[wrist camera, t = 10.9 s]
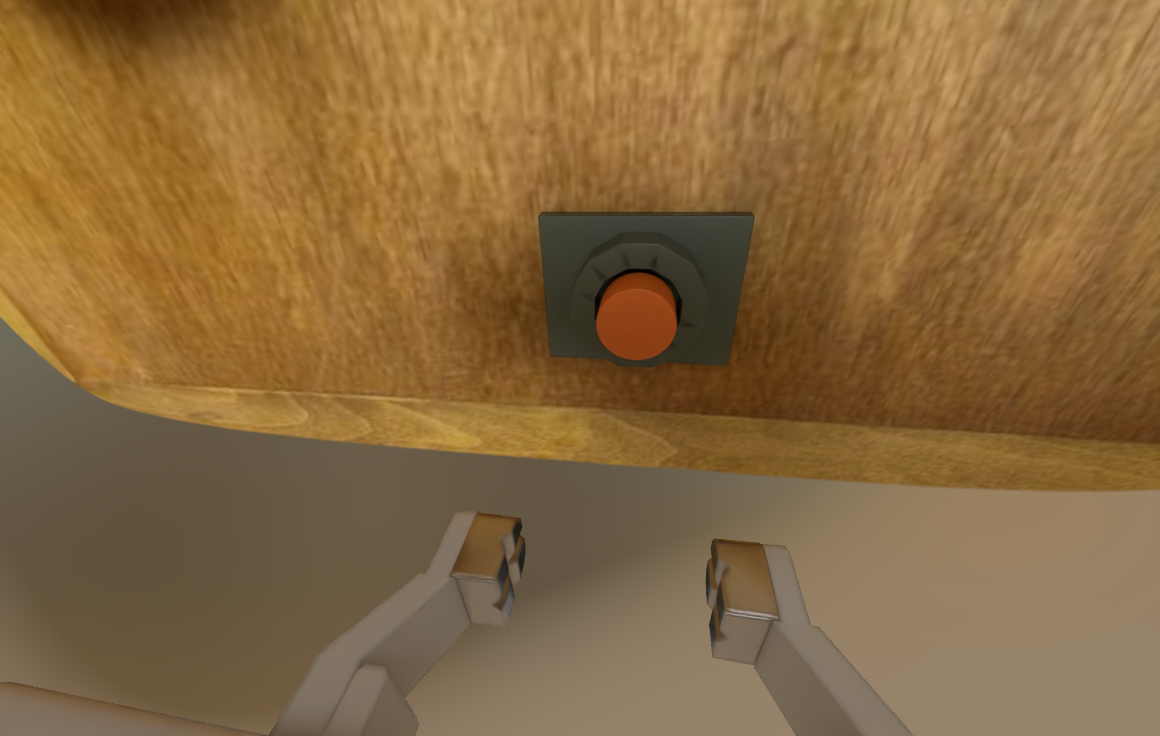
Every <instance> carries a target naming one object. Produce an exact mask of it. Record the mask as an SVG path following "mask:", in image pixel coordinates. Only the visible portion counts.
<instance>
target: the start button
mask: <svg viewBox="0 0 1160 736" xmlns="http://www.w3.org/2000/svg"><path fill="white" fill-rule="evenodd" d="M596 328H597V333H598V336H599V338H600V340H601V342H602V343H603V344H604V346H605V347H606V348H607V349H608V350H610V351H611V352H612V353H614V354H615V355H617V356H619V357H622V358H625V359H630V360H644V359H648V358H651V357H654V356H656V355H658V354H660V353H661V352H663V351H664V350H665V349H666V348H667V347H668V346H669V345H670V343H671V342H672V340H673V338H674V336H675V333H676V329H677V319H676V305H675V299H674V295H673V293H672V291H671V289H670V288H669V287H668V285H667V284H666V283H665V282H664V281H663V280H661V279H660V278H658V277H656V276H654V275H651V274H648V273H641V272H635V273H629V274H625V275H623V276H620V277H619V278H617V279H615V280H614V281H613V282H612V283H611V284H610V285H609V286H608V287H607V289H606V290H605V292H604V294H603V297H602V300H601V304H600V307H599V311H598V315H597V319H596Z"/></svg>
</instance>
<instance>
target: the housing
mask: <svg viewBox="0 0 1160 736" xmlns="http://www.w3.org/2000/svg"><path fill="white" fill-rule="evenodd" d="M538 218H539V230H540V242H541V253H542V265H543V277H544V289H545V300H546V312H547V324H548V336H549V347H550V356H554V357H572V358H591V359H607V360H608V361H610V362H612V363H614V364H616V365H619V366H629V367H647V368H651V367H654V366H657V365H659V364H662V363H664V362H667V363H686V364H705V365H724V366H727V364H728V359H729V354H730V348H731V343H732V337H733V332H734V326H735V321H736V316H737V310H738V305H739V299H740V294H741V288H742V283H743V277H744V272H745V266H746V261H747V256H748V250H749V245H750V239H751V234H752V228H753V223H754V215H753V214H752V213H744V212H542V213H541V214H540V215H539V216H538ZM635 272H641V273H648V274H651V275H654V276H656V277H658V278H660V279H661V280H663V281H664V282H665V283H666V284H667V285H668V287H669V288H670V289H671V291H672V293H673V295H674V299H675V305H676V319H677V329H676V333H675V336H674V338H673V340H672V342H671V343H670V345H669V346H668V347H667V348H666V349H665V350H664V351H663V352H661V353H660V354H658V355H656V356H654V357H651V358H648V359H644V360H630V359H625V358H622V357H619V356H617V355H615V354H614V353H612V352H611V351H610V350H608V349H607V348H606V347H605V346H604V344H603V343H602V342H601V340H600V338H599V336H598V333H597V328H596V319H597V315H598V311H599V307H600V304H601V300H602V297H603V294H604V292H605V290H606V289H607V287H608V286H609V285H610V284H611V283H612V282H613V281H614V280H615V279H617V278H619V277H620V276H623V275H625V274H629V273H635Z"/></svg>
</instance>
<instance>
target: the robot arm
mask: <svg viewBox="0 0 1160 736" xmlns="http://www.w3.org/2000/svg"><path fill="white" fill-rule="evenodd" d="M521 529H522V523H521V519H520V518H518V517H510V516H502V515H494V514H487V513H480V512H471V511H462V510H459V511H458V512H457V513H456V514H455V515H454V516H453V518H452V520H451V523H450V524H449V527H448V528H447V530H446V533H445V535H444V537H443V539H442V541H441V543H440V545H439V547H438V549H437V551H436V553H435V555H434V557H433V559H432V561H431V563H430V565H429V567H428V569H427V572H426V573H419V574H418V575H416V576H415V577H414V578H412V580H410V581H409V582H407V583H406V584H405V585H404V586H402V587H401V588H400V589H399V590H398V591H396V592H395V593H394V594H392V595H391V596H390V597H389V598H387V599H386V600H385V601H384V602H382V603H381V604H380V605H379V606H377V607H376V608H375V609H374V610H372V611H371V612H370V613H368V614H367V615H366V616H365V617H363V618H362V619H361V620H360V621H358V622H357V623H356V624H355V625H353V626H352V627H351V628H350V629H348V630H347V631H346V632H345V633H343V634H342V635H341V636H340V637H338V638H337V639H336V640H335V641H333V642H332V643H331V644H330V645H328V646H327V647H326V648H324V649H323V650H322V651H321V652H320V653H319V654H318V655H317V657H316V658H315V660H314V662H313V663H312V665H311V667H310V668H309V670H308V672H307V673H306V675H305V677H304V678H303V680H302V681H301V683H300V685H299V686H298V688H297V690H296V691H295V693H294V695H293V696H292V698H291V699H290V701H289V703H288V704H287V706H286V708H285V709H284V711H283V713H282V714H281V716H280V717H279V719H278V721H277V722H276V724H275V726H274V728H273V729H272V731H271V732H270V734H269V736H415V734H416V732H417V729H418V726H419V723H418V720H417V717H416V715H415V713H414V712H413V710H412V709H411V707H410V706H409V704H408V702H407V701H406V699H405V697H406V696H407V695H408V694H409V693H410V692H411V691H412V689H413V688H414V687H415V686H416V685H417V684H418V683H419V682H420V681H421V679H422V678H423V677H424V676H425V675H426V674H427V673H428V672H429V671H430V669H431V668H432V667H433V666H434V665H435V664H436V662H438V661H439V659H440V658H441V657H442V656H443V655H444V654H445V653H446V652H447V651H448V649H449V648H450V647H451V646H452V645H453V644H454V643H455V641H457V639H458V638H459V637H460V636H461V635H462V634H463V633H464V632H465V631H466V629H467V628H468V627H469V626H470V622H473V623H481V624H489V625H498V626H507V622H508V618H509V615H510V612H511V608H512V605H513V602H514V598H515V597H514V591H513V585H514V584H515V583H516V582H517V581H518V580H519V579H520V577H521V573H522V570H523V565H524V559H525V540H524V538H523V537H522V536H521V535H520V532H521ZM711 555H712V558H711V559H709V560H708V564H707V570H706V595H707V604H708V605H709V607H710V608H711V609H712V615H711V619H710V624H709V628H710V636H711V646H712V657H713V658H717V659H722V660H728V661H734V662H739V663H745V664H750V665H755V667H754V668H755V670H756V671H757V673H758V675H759V676H760V678H761V679H762V681H763V683H764V684H765V686H766V688H767V689H768V691H769V692H770V694H771V696H772V697H773V699H774V701H775V702H776V704H777V706H778V707H779V709H780V710H781V712H782V714H783V715H784V717H785V719H786V720H787V722H788V723H789V725H790V727H791V728H792V730H793V731H794V733H795V735H796V736H914V735H913V734H912V733H911V732H910V730H909V729H908V728H907V727H906V726H905V725H904V724H903V722H902V721H901V720H900V719H899V718H898V717H897V716H896V714H894V712H893V711H892V710H891V709H890V708H889V706H888V705H887V704H886V703H885V702H884V701H883V700H882V699H881V697H880V696H879V695H878V694H877V693H876V692H875V690H873V688H872V687H871V686H870V685H869V684H868V683H867V681H866V680H865V679H864V678H863V677H862V676H861V675H860V674H859V672H858V671H857V670H856V669H855V668H854V667H853V665H852V664H851V663H850V662H849V661H848V660H847V659H846V657H845V656H844V655H843V654H842V653H841V652H840V651H839V649H838V648H837V647H836V646H835V645H834V644H833V643H832V641H831V640H830V639H829V638H828V637H827V636H826V635H825V633H824V632H823V631H822V630H821V629H820V628H819V627H816V626H811V624H810V621H809V617H808V614H807V610H806V607H805V603H804V600H803V597H802V593H801V590H800V586H799V583H798V579H797V576H796V572H795V569H794V565H793V562H792V559H791V555H790V552H789V550H788V549H787V548H786V547H785V546H780V545H768V544H760V543H756V542H745V541H734V540H724V539H714V540H713V541H712V545H711ZM0 736H268V735H263V734H259V733H254V732H249V731H244V730H239V729H235V728H230V727H225V726H220V725H215V724H211V723H206V722H201V721H196V720H191V719H187V718H182V717H177V716H172V715H168V714H163V713H158V712H153V711H148V710H143V709H139V708H133V707H129V706H124V705H120V704H115V703H110V702H105V701H100V700H95V699H91V698H86V697H81V696H76V695H71V694H67V693H62V692H57V691H52V690H47V689H43V688H38V687H34V686H29V685H24V684H19V683H13V682H0Z"/></svg>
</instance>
